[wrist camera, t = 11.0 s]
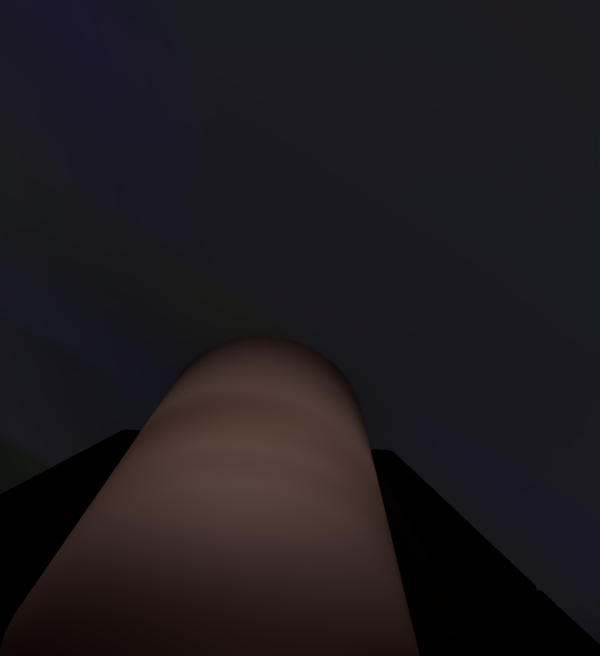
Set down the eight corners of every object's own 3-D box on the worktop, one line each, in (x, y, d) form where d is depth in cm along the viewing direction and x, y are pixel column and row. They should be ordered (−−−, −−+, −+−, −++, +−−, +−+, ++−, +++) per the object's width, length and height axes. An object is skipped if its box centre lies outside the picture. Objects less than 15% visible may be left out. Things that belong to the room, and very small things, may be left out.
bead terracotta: (349, 512, 10) (390, 827, 5) (169, 498, 10) (33, 802, 5) (375, 345, 8) (469, 563, 3) (162, 328, 8) (-43, 524, 3)
